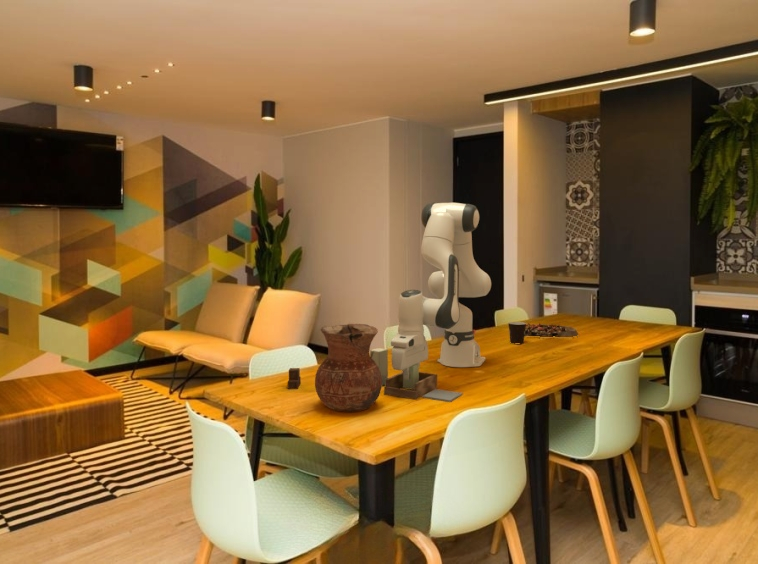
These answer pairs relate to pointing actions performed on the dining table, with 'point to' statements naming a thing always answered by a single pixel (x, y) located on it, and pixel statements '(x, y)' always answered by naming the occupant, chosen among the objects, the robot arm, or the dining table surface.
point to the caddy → (421, 387)
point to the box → (381, 362)
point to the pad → (442, 395)
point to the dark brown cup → (517, 332)
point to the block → (412, 377)
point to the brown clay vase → (348, 369)
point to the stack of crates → (294, 378)
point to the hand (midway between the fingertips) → (410, 377)
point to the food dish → (549, 331)
